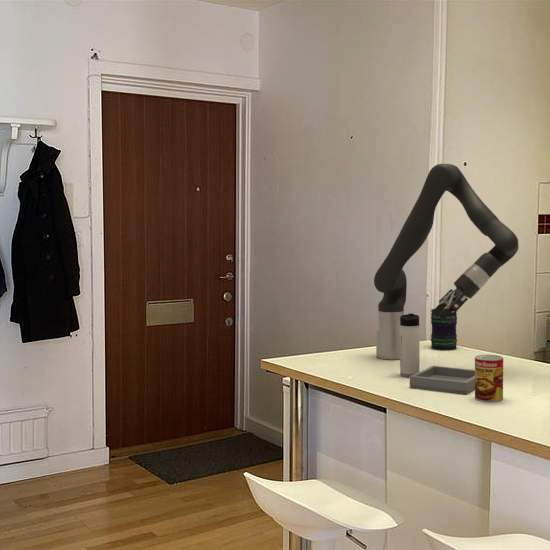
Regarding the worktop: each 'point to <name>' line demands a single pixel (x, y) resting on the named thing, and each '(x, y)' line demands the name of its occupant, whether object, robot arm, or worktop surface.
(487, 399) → the canned food
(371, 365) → the worktop surface
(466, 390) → the grey tray
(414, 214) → the robot arm
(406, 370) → the travel mug
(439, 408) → the worktop surface
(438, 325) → the storage jar
